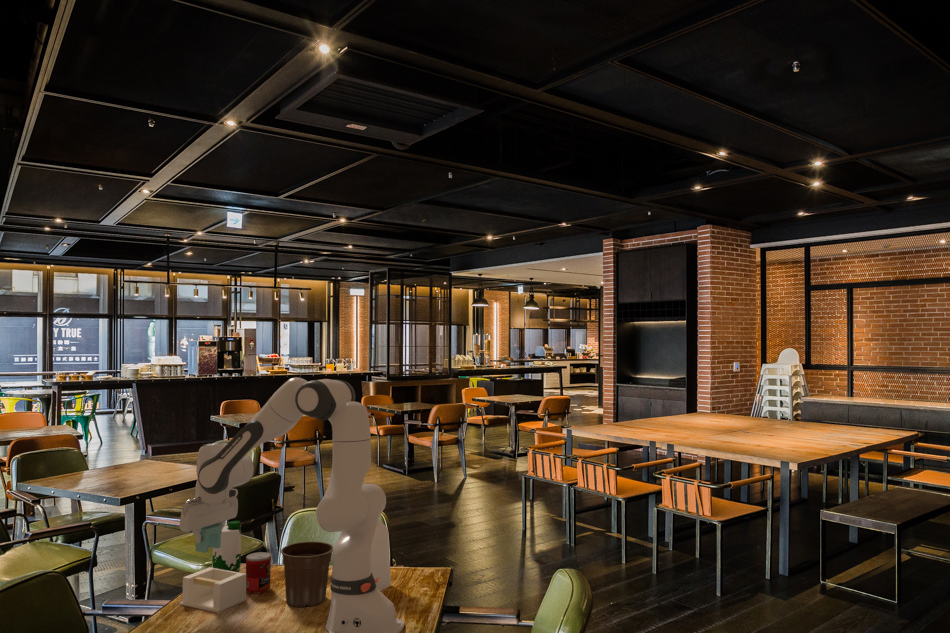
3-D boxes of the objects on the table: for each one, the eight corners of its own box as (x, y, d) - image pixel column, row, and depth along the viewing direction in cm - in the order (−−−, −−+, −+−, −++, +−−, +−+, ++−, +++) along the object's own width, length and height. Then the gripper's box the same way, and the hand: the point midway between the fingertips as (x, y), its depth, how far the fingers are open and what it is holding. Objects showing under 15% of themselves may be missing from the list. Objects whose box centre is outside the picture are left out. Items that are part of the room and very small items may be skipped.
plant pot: (342, 594, 207) (342, 543, 208) (315, 613, 192) (316, 558, 193) (298, 588, 212) (299, 539, 213) (269, 606, 197) (270, 553, 198)
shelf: (245, 599, 202) (246, 573, 203) (217, 612, 192) (218, 585, 192) (208, 592, 209) (209, 567, 209) (179, 604, 198) (180, 578, 199)
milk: (390, 585, 215) (391, 507, 217) (370, 596, 205) (370, 514, 207) (362, 579, 221) (363, 503, 222) (340, 590, 210) (341, 510, 212)
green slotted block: (220, 547, 201) (221, 525, 201) (205, 552, 196) (206, 529, 196) (210, 545, 203) (211, 523, 203) (195, 550, 197) (196, 528, 198)
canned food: (262, 594, 207) (263, 559, 207) (240, 592, 208) (241, 558, 209) (274, 586, 214) (275, 552, 215) (253, 584, 216) (253, 551, 216)
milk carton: (239, 584, 215) (240, 524, 216) (210, 587, 213) (211, 526, 214) (241, 576, 224) (242, 518, 225) (213, 578, 221) (215, 520, 223)
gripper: (190, 502, 189) (188, 549, 189) (241, 489, 208) (240, 532, 207) (175, 499, 192) (173, 546, 191) (227, 487, 211) (225, 529, 210)
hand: (208, 539), depth 199 cm, fingers closed on green slotted block, 6 cm apart
